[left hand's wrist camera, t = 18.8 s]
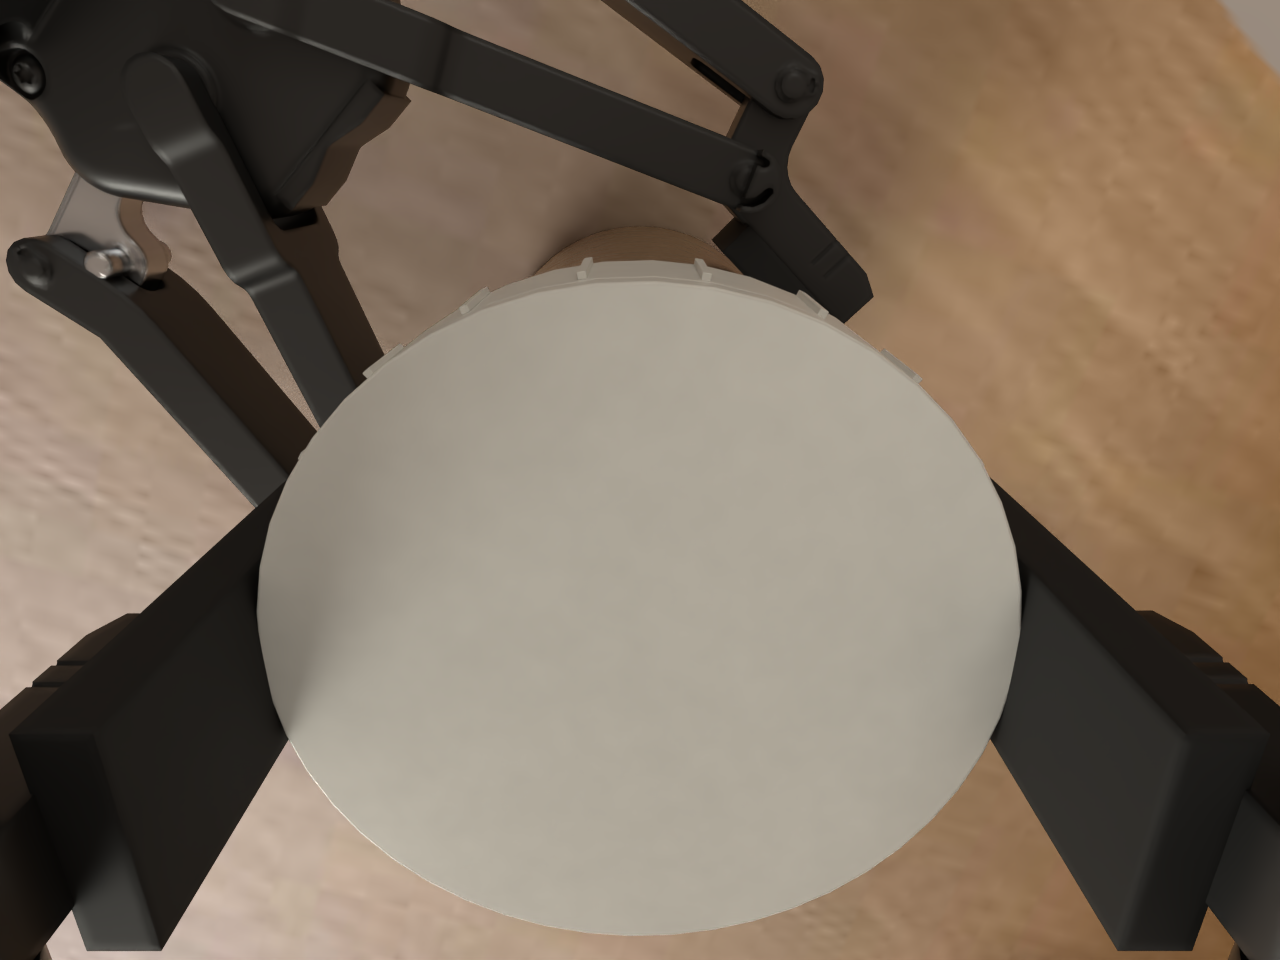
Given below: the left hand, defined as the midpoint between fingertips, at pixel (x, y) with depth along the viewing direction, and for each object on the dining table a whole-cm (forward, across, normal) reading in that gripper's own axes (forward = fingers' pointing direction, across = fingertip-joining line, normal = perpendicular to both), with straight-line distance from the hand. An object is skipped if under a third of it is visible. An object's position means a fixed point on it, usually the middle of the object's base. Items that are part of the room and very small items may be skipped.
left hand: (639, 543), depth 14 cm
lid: (-3, 0, 0) cm, 3 cm away
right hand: (+6, -3, +3) cm, 8 cm away
